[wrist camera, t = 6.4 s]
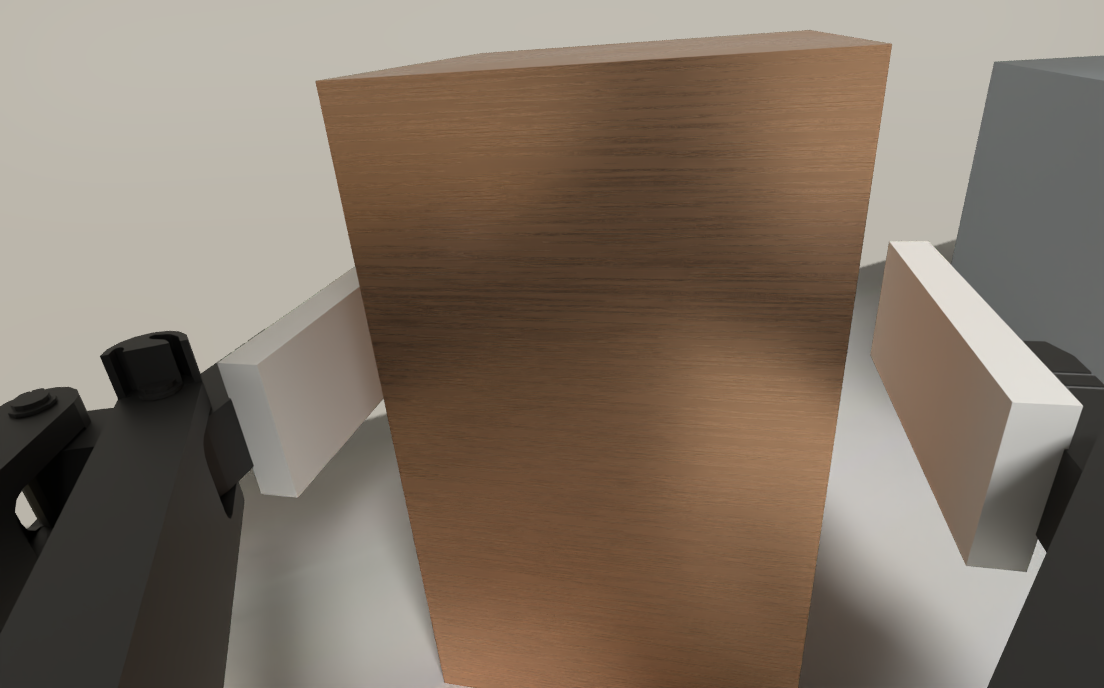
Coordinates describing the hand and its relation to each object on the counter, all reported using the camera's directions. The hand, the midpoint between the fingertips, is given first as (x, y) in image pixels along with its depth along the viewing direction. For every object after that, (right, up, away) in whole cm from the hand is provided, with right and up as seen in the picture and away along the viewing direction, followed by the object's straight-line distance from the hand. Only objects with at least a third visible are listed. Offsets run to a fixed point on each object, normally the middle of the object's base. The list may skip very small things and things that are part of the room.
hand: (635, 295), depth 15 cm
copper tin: (0, -7, +1) cm, 7 cm away
